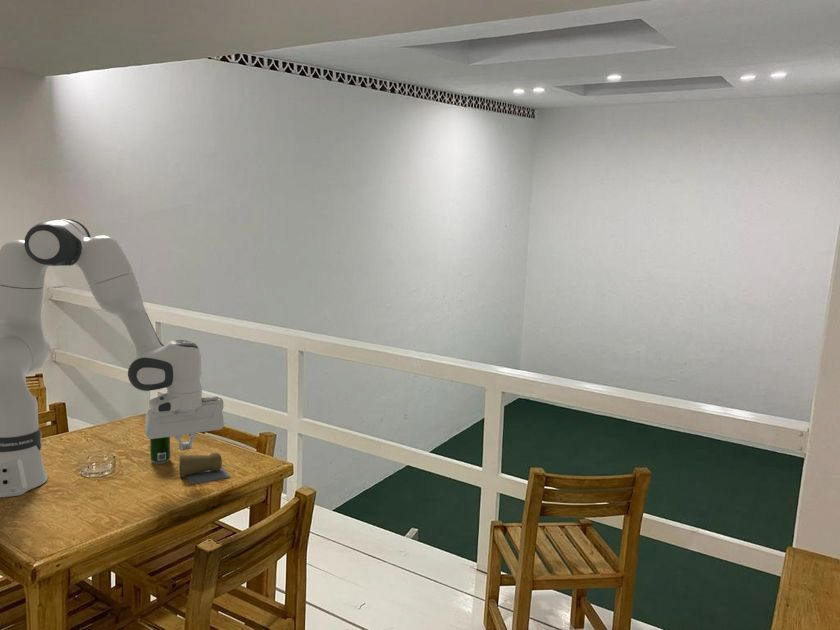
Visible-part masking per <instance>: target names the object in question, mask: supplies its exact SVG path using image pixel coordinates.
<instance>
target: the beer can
mask: <svg viewBox="0 0 840 630" xmlns="http://www.w3.org/2000/svg"><path fill="white" fill-rule="evenodd" d="M149 444H150V445H149V447H150V461H151V463H152V464H155V465H156V464H157V465H161V464H166V463H168V462H169V461H170V459H171V437H163V438H156V439H149Z"/></svg>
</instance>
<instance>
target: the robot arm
mask: <svg viewBox="0 0 840 630" xmlns="http://www.w3.org/2000/svg"><path fill="white" fill-rule="evenodd" d="M74 265H75V266H77V267H78V268H79V269H80V270H81V271H82V273H83V275H84V277H85V279H86V282H87V284H88V285H87V286H89V290H90V291H91V294H92V296H93V297H94V299H95V301H96V303H97V304H98V305H99V306H100V308H101V309H102V310H103V311H105V312H107V313H109V314H111V315H114V316H116V317H117V318H118V319H120V321H121V322H122V323H123V324H124V326H125V328H126V331H127V333H128V335H129V337H130V339H131V342H132V343H133V345H134V348H135V351H136V357H135V358H134V360H133V361H132V362H131V364H130V365H129V367H128V370H127V378H128V380H129V382H130V384H131V385H132V387H134V388H136V389H137V390H139V391H142V392H149V391H150V392H151V391H156V390H162V389H166V390H167V392H166V393H163V394H161V395H159V396H157V397H154V398H151V399H150V400H148V406H149V408H150V409H149V410H148V411H147V412H146V415H145V420H144V422H145V424H144V435H145V436H146V437H147V438H148V439H149V440H150V439H156V438H163V437H170V438H171V437H174V438H175V439H176V440H177V442H178V445H179V446H178V448H179V450H180V451H186V450H191V449H193V445H192V444H193V442H194V441H195V439H196V437H197V434H198V433H204V432H212V431H219V430H222V429H223V428H224V426H225V423H224V422H225V421H224V415H223V409H224V404H225V403H224V400H223V399H222V397H218V396H211V397H210V396H209V397H203V387H202V383H201V377H202V367H203V365H202V355H201V352H200V351H201V350H200V347H199V346H198V345H197V344H196V343H195V342H192V341H189V340H184V339H173V340H170V341H169V342H168V343H166V344H165V345H164V343H162V342H161V340H160V339H159V337H158V335H157V333H156V330H155V328H154V327H153V324H152V322H151V319H150V317H149V315H148V313H147V310H146V308H145V305H144V302H143V298H142V295H141V292H140V287H139V284H138V281H137V279H136V276H135V273H134V271H133V268H132V266H131V263H130V262H129V259H128V257H127V256H126V254H125V252H124V251H123V249H122V247H121V245H119V243H118V242H117V240H116V239H115V238H113V237H111V236H108V235H97V236H93V237H92V236H91V233H90V231H89V230H88V228H87V227H86V226H85V225H83V223H81V222H79V221H76V220H75V219H70V218H65V219H62V218H57V219H50V220H48V221H42V222H39V223H37V224H35V225H33V226H32V227H31V228H30V229H29V230H28V231H27V232H26V234H25V236H24V239H15V240H14V239H13V240H10V241H7V242H5V243H3V245H2V246H1V247H0V498H7V497H15V496H18V497H19V496H21V495H23V494H26V492H28V491H30V490H32V489H35V488H37V487H39V486H41V485H43V484H44V483H45V482H47V481H48V480H49V479H48V478H49V476H48V475H47V471H46V469H45V465H44V462H43V457H42V452H41V451H42V443H43V441H42V439H43V438H42V431H41V428H40V426H39V407H38V405H39V404H38V400H37V397H35V396H34V395H33V394H31V392H30V390H29V386H28V384H27V381H26V378H27V375H28V374H31V373H33V372H34V373H35V372H36V371H38V370H39V369H40V368H41V367H42V366H43V365H44V364H46V363H47V361H48V360H49V359H50V356H51V353H52V352H51V345H50V343H49V341H48V339H47V338H46V337H45V335H44V331H43V330H44V329H43V323H42V305H43V296H44V287H45V277H46V272H47V269H48V267H58V266H59V267H61V266H62V267H64V266H65V267H66V266H69V267H71V266H74ZM183 435H188V436H189V438H188V440H187V441H183V442H182V440H181V439H183Z"/></svg>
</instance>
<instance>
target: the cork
mask: <svg viewBox="0 0 840 630" xmlns="http://www.w3.org/2000/svg"><path fill="white" fill-rule="evenodd" d="M222 465H223V459H222V455H221V454H220V453H219V452H213V453H210V454H209V455H196V454H194V455H193V454H191V455H190V454H189V455H188V454H179V458H178V466H179V469H178V470H179V478H184V477H186V476H188V475H192V474H196V473H200V472H204V471H208V470H210V471H213V472H216V471H219V470H220V469H221V466H222ZM222 467H223V466H222Z"/></svg>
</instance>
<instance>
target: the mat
mask: <svg viewBox="0 0 840 630" xmlns="http://www.w3.org/2000/svg"><path fill="white" fill-rule="evenodd" d="M185 478H186V479H187V481H188V482H189V483H190V485H196V484H200V483H205V482H212V481H219V480H223V479H229V478H231V476H230V474H229V473H228V472H227V471H226V470H225V468H224V467H223V466H221V469H220V470H219V471H216V472H213V471H210V470H208V471H204V472H200V473H196V474H192V475H188V476H185Z"/></svg>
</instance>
